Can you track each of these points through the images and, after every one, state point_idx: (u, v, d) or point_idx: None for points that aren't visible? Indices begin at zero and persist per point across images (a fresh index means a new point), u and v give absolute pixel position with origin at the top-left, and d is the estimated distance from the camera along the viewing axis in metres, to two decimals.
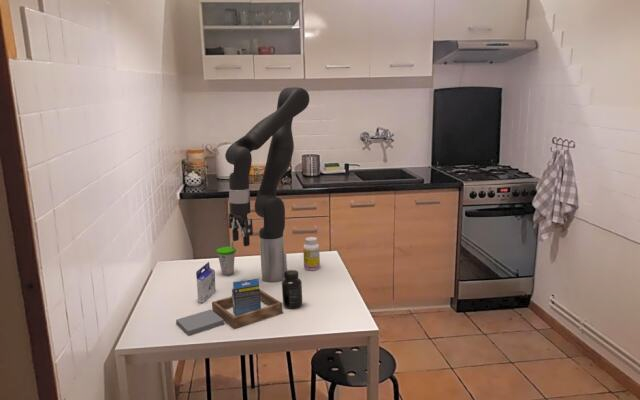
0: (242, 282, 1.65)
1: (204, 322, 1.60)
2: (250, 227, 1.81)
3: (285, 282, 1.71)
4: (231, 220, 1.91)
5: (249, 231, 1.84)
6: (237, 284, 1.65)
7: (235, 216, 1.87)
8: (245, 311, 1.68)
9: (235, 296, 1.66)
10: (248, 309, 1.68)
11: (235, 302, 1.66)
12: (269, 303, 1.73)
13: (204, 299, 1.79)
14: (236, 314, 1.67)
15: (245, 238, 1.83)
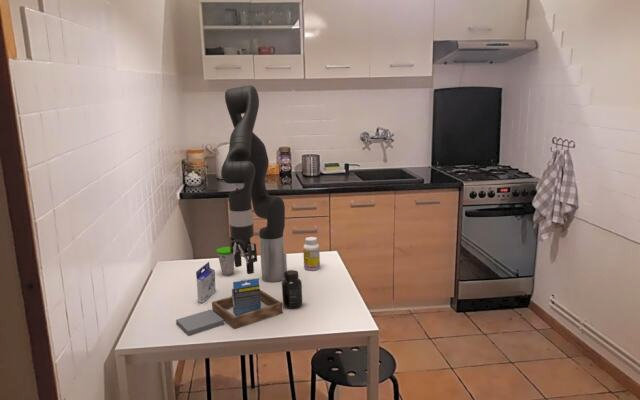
0: (242, 282, 1.65)
1: (204, 322, 1.60)
2: (254, 253, 1.60)
3: (285, 282, 1.71)
4: (232, 244, 1.69)
5: (253, 257, 1.62)
6: (237, 284, 1.65)
7: (237, 240, 1.65)
8: (245, 311, 1.68)
9: (235, 296, 1.66)
10: (248, 309, 1.68)
11: (235, 302, 1.66)
12: (269, 303, 1.73)
13: (204, 299, 1.79)
14: (236, 314, 1.67)
15: (249, 265, 1.62)
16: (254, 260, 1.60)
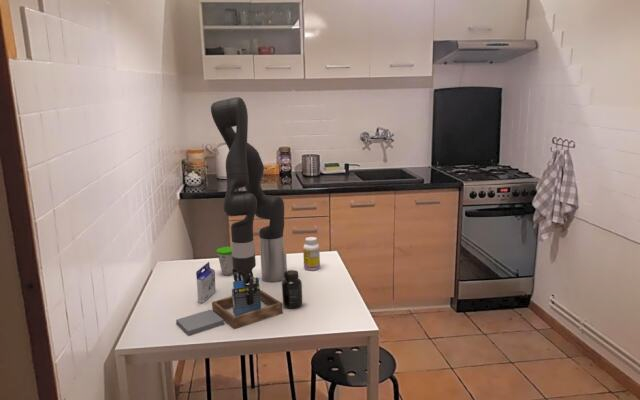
0: (242, 282, 1.65)
1: (204, 322, 1.60)
2: (255, 286, 1.63)
3: (285, 282, 1.71)
4: (236, 276, 1.71)
5: (253, 289, 1.66)
6: (237, 284, 1.65)
7: (239, 270, 1.68)
8: (245, 311, 1.68)
9: (235, 296, 1.66)
10: (248, 309, 1.68)
11: (235, 302, 1.66)
12: (269, 303, 1.73)
13: (204, 299, 1.79)
14: (236, 314, 1.67)
15: (248, 296, 1.66)
16: (254, 292, 1.64)
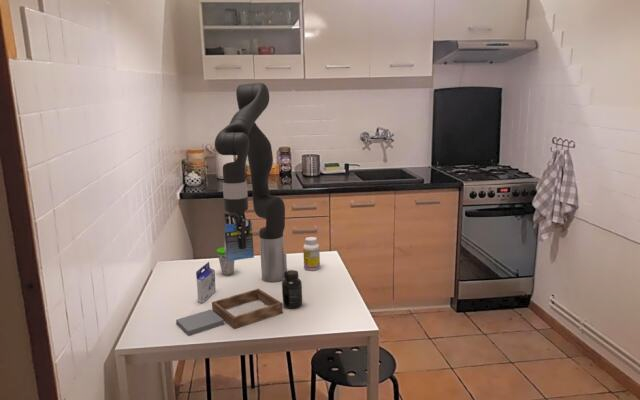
0: (234, 225, 1.60)
1: (204, 322, 1.60)
2: (247, 229, 1.58)
3: (285, 282, 1.71)
4: (228, 221, 1.66)
5: (246, 232, 1.61)
6: (228, 227, 1.60)
7: (231, 213, 1.62)
8: (237, 256, 1.63)
9: (227, 240, 1.61)
10: (241, 254, 1.63)
11: (227, 246, 1.61)
12: (269, 303, 1.73)
13: (204, 299, 1.79)
14: (228, 259, 1.62)
15: (241, 240, 1.60)
16: (246, 235, 1.59)
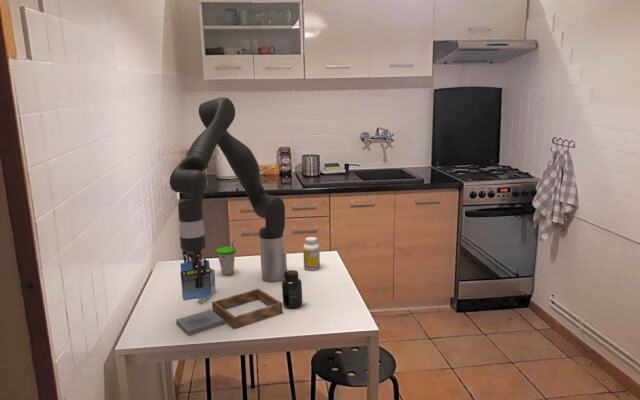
0: (190, 264, 1.56)
1: (204, 322, 1.60)
2: (203, 268, 1.54)
3: (285, 282, 1.71)
4: (186, 258, 1.61)
5: None
6: (184, 266, 1.55)
7: (188, 251, 1.58)
8: (194, 295, 1.58)
9: (183, 279, 1.56)
10: (198, 293, 1.58)
11: (183, 285, 1.57)
12: (269, 303, 1.73)
13: (204, 299, 1.79)
14: (184, 298, 1.57)
15: (197, 279, 1.56)
16: (202, 274, 1.54)
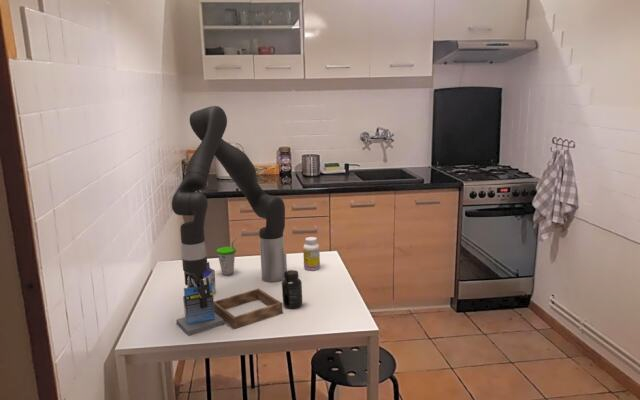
0: (194, 288, 1.57)
1: (204, 322, 1.60)
2: (206, 287, 1.54)
3: (285, 282, 1.71)
4: (187, 276, 1.63)
5: (206, 291, 1.57)
6: (188, 290, 1.57)
7: (190, 273, 1.59)
8: (198, 319, 1.60)
9: (187, 303, 1.58)
10: (201, 317, 1.60)
11: (187, 309, 1.58)
12: (269, 303, 1.73)
13: None
14: (188, 322, 1.59)
15: (202, 300, 1.56)
16: (207, 295, 1.54)
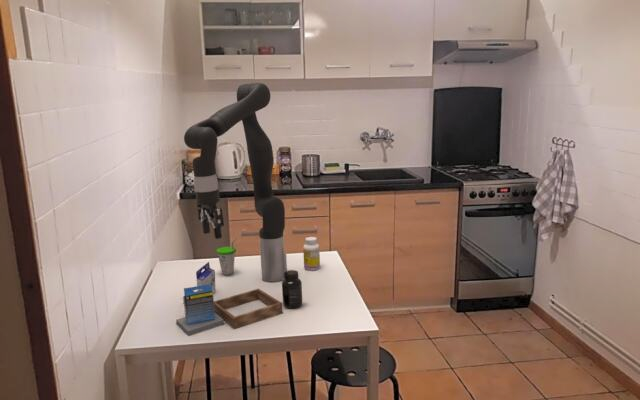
0: (194, 288, 1.57)
1: (204, 322, 1.60)
2: (220, 217, 1.62)
3: (285, 282, 1.71)
4: (200, 211, 1.71)
5: (220, 222, 1.64)
6: (188, 290, 1.57)
7: (203, 206, 1.67)
8: (198, 319, 1.60)
9: (187, 303, 1.58)
10: (201, 317, 1.60)
11: (187, 309, 1.58)
12: (269, 303, 1.73)
13: None
14: (188, 322, 1.59)
15: (216, 230, 1.64)
16: (221, 224, 1.62)
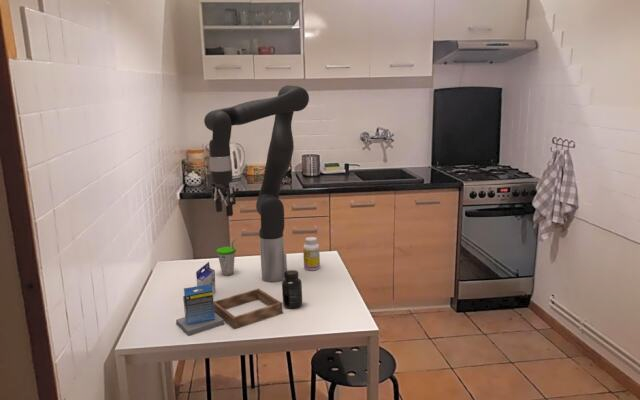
0: (194, 288, 1.57)
1: (204, 322, 1.60)
2: (232, 196, 1.73)
3: (285, 282, 1.71)
4: (213, 190, 1.82)
5: None
6: (188, 290, 1.57)
7: (217, 185, 1.78)
8: (198, 319, 1.60)
9: (187, 303, 1.58)
10: (201, 317, 1.60)
11: (187, 309, 1.58)
12: (269, 303, 1.73)
13: None
14: (188, 322, 1.59)
15: (228, 208, 1.75)
16: (233, 202, 1.74)
